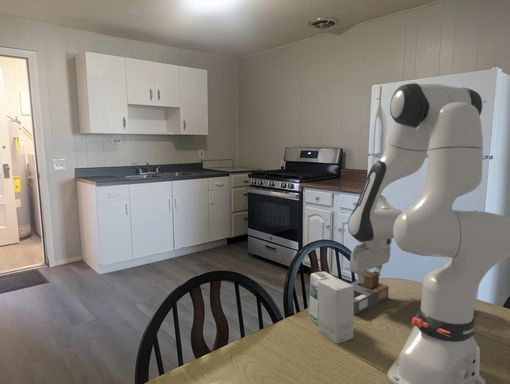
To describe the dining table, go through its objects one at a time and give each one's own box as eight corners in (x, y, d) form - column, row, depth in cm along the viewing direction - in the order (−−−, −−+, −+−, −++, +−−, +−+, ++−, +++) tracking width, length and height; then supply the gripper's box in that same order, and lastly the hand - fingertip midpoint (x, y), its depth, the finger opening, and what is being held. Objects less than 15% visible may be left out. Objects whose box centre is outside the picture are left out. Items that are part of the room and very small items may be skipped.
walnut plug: (370, 299, 123) (372, 277, 122) (359, 295, 127) (360, 273, 125) (377, 295, 126) (379, 274, 125) (366, 291, 129) (367, 270, 128)
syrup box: (308, 317, 112) (309, 273, 109) (323, 313, 114) (325, 270, 112) (319, 326, 106) (320, 279, 104) (335, 322, 109) (336, 276, 107)
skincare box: (353, 339, 99) (356, 286, 97) (335, 345, 96) (337, 290, 94) (333, 325, 107) (335, 275, 105) (316, 331, 104) (317, 280, 101)
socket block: (355, 316, 112) (356, 302, 112) (329, 304, 120) (329, 291, 120) (388, 298, 125) (389, 285, 125) (363, 289, 133) (363, 277, 132)
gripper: (362, 248, 114) (360, 289, 116) (394, 238, 128) (392, 275, 129) (345, 244, 119) (344, 284, 121) (378, 234, 132) (376, 270, 134)
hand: (369, 279), depth 125 cm, fingers open, 8 cm apart
